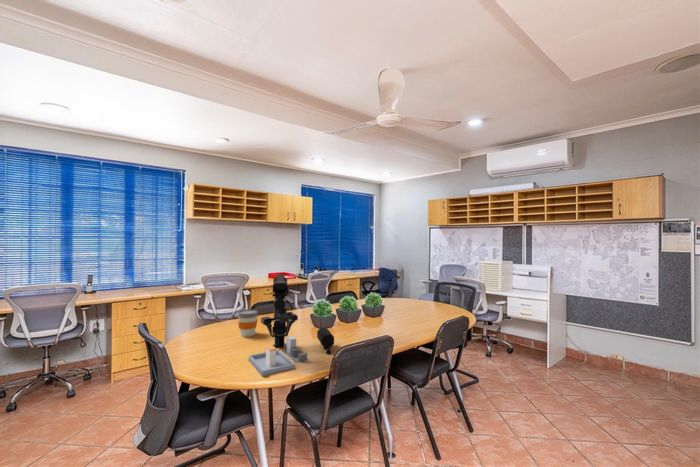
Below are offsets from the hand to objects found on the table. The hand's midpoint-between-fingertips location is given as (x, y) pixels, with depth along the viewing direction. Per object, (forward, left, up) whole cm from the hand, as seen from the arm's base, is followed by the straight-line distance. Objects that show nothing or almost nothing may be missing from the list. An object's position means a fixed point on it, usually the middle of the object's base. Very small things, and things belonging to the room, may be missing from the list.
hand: (279, 334), depth 173 cm
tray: (+7, -7, -12) cm, 16 cm away
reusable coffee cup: (-48, -4, -12) cm, 50 cm away
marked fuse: (+7, -7, -11) cm, 15 cm away
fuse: (-3, +8, -12) cm, 14 cm away
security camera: (+2, +27, -12) cm, 30 cm away
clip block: (+2, +8, -12) cm, 15 cm away
